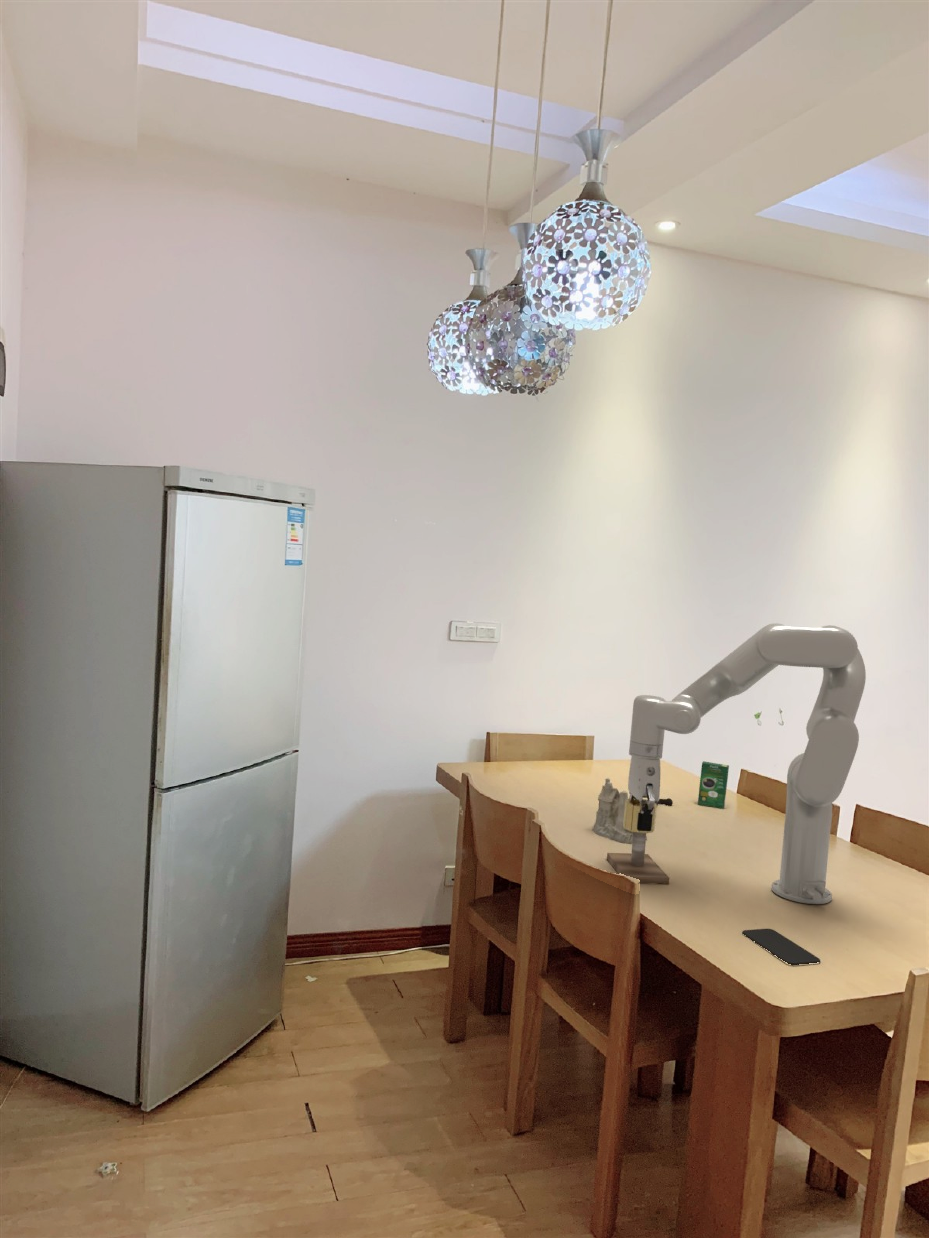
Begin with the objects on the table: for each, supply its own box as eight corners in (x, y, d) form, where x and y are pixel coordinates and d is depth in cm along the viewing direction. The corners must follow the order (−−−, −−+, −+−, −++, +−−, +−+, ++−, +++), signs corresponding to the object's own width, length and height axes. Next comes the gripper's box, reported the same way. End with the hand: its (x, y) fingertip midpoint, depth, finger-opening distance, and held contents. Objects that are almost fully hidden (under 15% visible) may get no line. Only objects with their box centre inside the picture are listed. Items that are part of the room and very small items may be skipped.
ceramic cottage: (624, 845, 226) (630, 786, 227) (580, 829, 240) (586, 773, 240) (667, 841, 235) (672, 784, 235) (622, 826, 249) (627, 772, 249)
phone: (771, 927, 178) (823, 960, 164) (771, 932, 178) (823, 965, 164) (739, 930, 176) (789, 963, 161) (739, 934, 176) (789, 968, 161)
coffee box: (726, 807, 271) (729, 764, 270) (724, 809, 269) (728, 766, 268) (698, 802, 274) (702, 760, 274) (697, 804, 272) (700, 762, 271)
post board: (668, 884, 200) (672, 840, 200) (625, 882, 199) (628, 838, 199) (647, 860, 216) (650, 819, 216) (606, 858, 215) (610, 817, 215)
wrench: (672, 811, 270) (658, 830, 242) (655, 810, 272) (639, 828, 244) (673, 794, 270) (659, 810, 242) (656, 792, 272) (640, 808, 244)
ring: (658, 833, 204) (660, 807, 204) (628, 832, 203) (630, 806, 203) (648, 824, 211) (651, 799, 211) (619, 822, 210) (622, 797, 210)
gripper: (674, 759, 198) (666, 838, 199) (650, 742, 215) (643, 815, 216) (641, 757, 197) (633, 836, 198) (619, 740, 214) (613, 813, 215)
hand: (638, 824), depth 207 cm, fingers closed on ring, 7 cm apart
